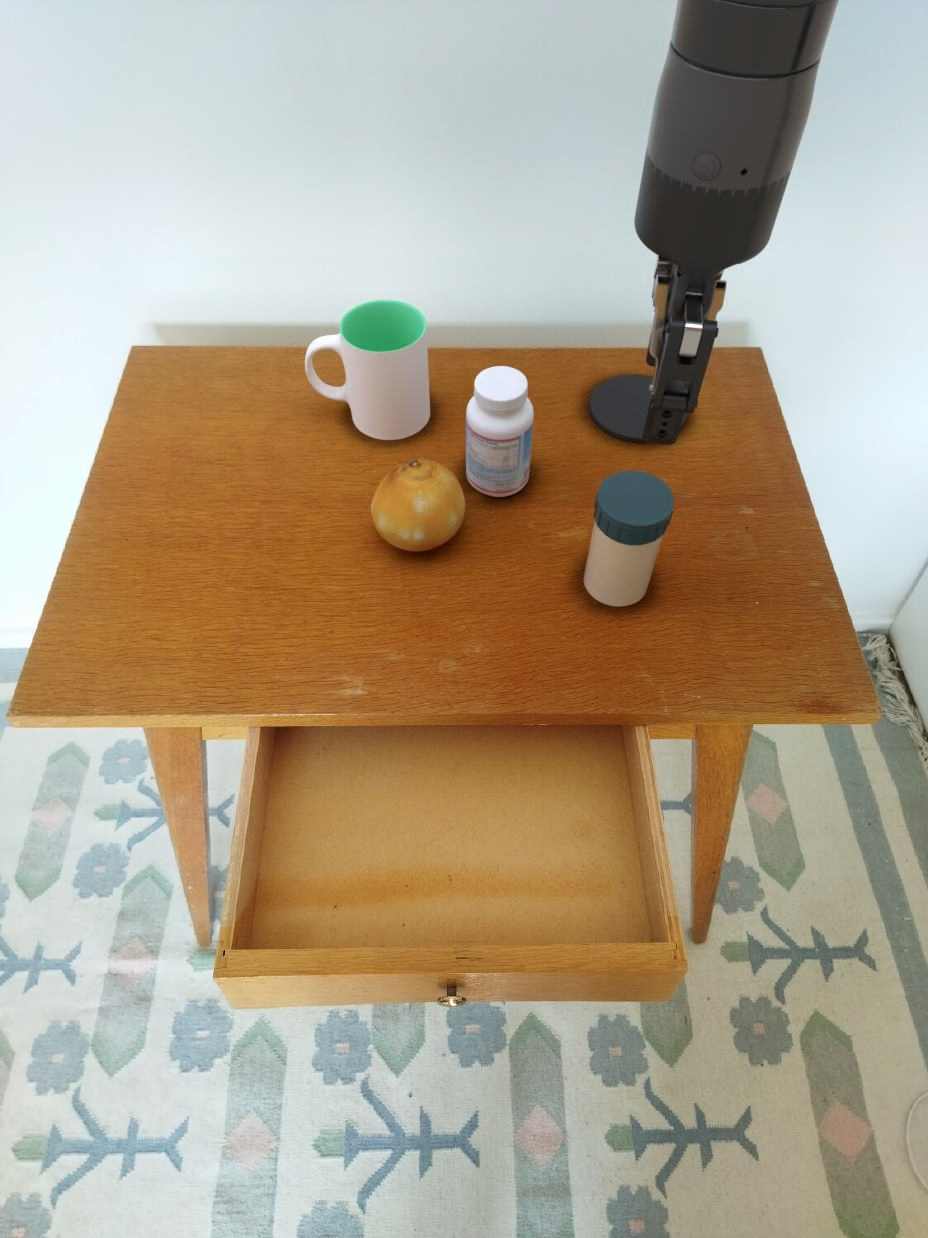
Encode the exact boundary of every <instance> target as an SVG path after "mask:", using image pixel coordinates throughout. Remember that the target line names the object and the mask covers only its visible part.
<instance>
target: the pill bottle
mask: <svg viewBox="0 0 928 1238" xmlns="http://www.w3.org/2000/svg"><path fill="white" fill-rule="evenodd" d="M473 386H474V388H473V396H472V397H471V398H470V400H469V402H468V403H467V406H466V411H465V412H466V413H465V475H466V479H467V481H468V483H469V484H470V485H471V487H473V489H474V490H476V491H478V492H480V493H481V494H483V495H486V496H489V497H492V498H493V497H494V498H503V497H508V496H513V495H514V494H516V493H518V492H519V491H521V490H522V489H523V488H524V487H525V486H526V485H527V484H528V481H529V478H530V472H531V471H530V470H531V457H532V446H533V433H534V420H535V419H534V418H535V417H534V416H535V415H534V412H535V411H534V406H533V404H532V402H531V400H530V398H529V397H528V394H529V393H528V392H529V391H528V389H529V383H528V379H527V377H526V375H525V374H524V373H523V372H522V371H520V370H519V369H516V368H514V367H511V366H507V365H496V366H491V367H487V368H485V369H483V370H481V371H480V372H479V373H478V374H477V376H476V377H475V379H474V383H473Z"/></svg>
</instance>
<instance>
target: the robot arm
mask: <svg viewBox="0 0 928 1238" xmlns="http://www.w3.org/2000/svg"><path fill="white" fill-rule="evenodd" d="M839 1H840V0H677V2H676V6H675V12H674V19H673V25H672V29H671V34H670V35H671V38H670V41H669V46H668V48H667V49H668V50H667V55H666V58H665V61H664V65H663V68H662V71H661V74H660V77H659V80H658V81H659V82H658V84H657V87H656V93H655V98H654V103H653V107H652V113H651V120H650V125H649V130H648V131H649V132H648V137H647V143H646V149H645V155H644V160H643V167H642V173H641V178H640V183H639V189H638V195H637V202H636V207H635V213H634V217H633V218H634V219H633V220H634V221H633V223H634V224H633V225H634V229H635V233H636V235H637V237H638V239H639V240H640V241H641V243H642V245H644V246H645V247H646V248H647V249H648V250H649V251H651V252H652V253H653V254H655V255H656V257H655V265H654V273H653V283H652V290H651V298H652V307H653V309H654V310H653V312H654V315H653V321H652V327H651V332H650V336H649V341H648V346H647V351H646V358H645V363H646V364H647V366H649V367H653V373H652V377H653V379H652V384H650V385H649V392H650V399H649V404H648V408H647V412H646V417H645V421H644V425H643V431H642V439H643V440H644V441H645V442H647V443H646V444H655V445H665V446H671V445H674V444H675V443H676V442H677V440H678V437H679V433H680V430H681V429H680V427H681V423H682V419H683V416H684V412H685V413H687V414H694V412H695V409H697V408H698V404H699V395H700V392H701V389H702V385H703V382H704V378H705V375H706V371H707V368H708V365H709V362H710V357H711V355H712V351H713V347H714V344H715V340H716V339H717V338H718V335H719V329H720V328H719V327H718V320H717V315H718V313H719V312H721V310H722V309H723V306H724V302H725V296H726V293H727V292H726V291H727V280H724V279H722V277H723V275H724V271H725V270H726V269H729V268H731V267H733V266H736V265H741V264H743V263H744V264H745V263H746V262H748V261H750V260H752V259H754V258H756V257H757V256H758V255H759V254H760V253H761V252H763V250H765V248H766V247H767V246H768V244H769V242H770V240H771V237H772V233H773V230H774V227H775V225H776V220H777V218H778V214H779V212H780V209H781V205H782V201H783V199H784V195H785V192H786V189H787V185H788V182H789V180H790V176H791V174H792V170H793V167H794V164H795V161H796V157H797V154H798V152H799V149H800V148H799V147H800V145H801V143H802V142H801V141H802V138H803V136H804V132H805V129H806V125H807V122H808V119H809V116H810V113H811V108H812V104H813V103H812V102H813V98H814V92H815V88H816V80H817V77H818V72H819V67H820V63H821V59H822V55H823V52H824V49H825V47H826V43H827V40H828V37H829V33H830V30H831V28H832V23H833V21H834V18H835V15H836V11H837V8H838V4H839Z"/></svg>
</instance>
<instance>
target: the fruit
mask: <svg viewBox="0 0 928 1238" xmlns="http://www.w3.org/2000/svg"><path fill="white" fill-rule="evenodd" d="M465 513H466V499H465V494H464V491H463V488H462V487H461V484H460V482H459V480H458V479H457V477H456V475H455V474H454V473H453V472H452V471H451V470H450V469H448V468H447V467H446V466H445V465H443V464H441V463H439V462H437V461H435V460H432V459H428V458H423V457H412V458H409V459H406V460H404V461H403V462H401V463H399V464H397V465H396V466H395V467H393V468H392V469H391V470H390V471H388V473H387V474H385V476H384V477H383V478H382V479H381V481H380V483H379V484H378V486H377V488H376V490H375V492H374V494H373V497H372V501H371V506H370V515H371V520H372V524H373V525H374V528H375V529H376V531H377V532H378V534H379V535H380V537H381V538H382V539H384V541H386V542H387V543H388V544H390V545H392V546H393V547H395V548H398V549H401V550H403V551H407V552H425V551H430V550H433V549H435V548H439V547H440V546H442V545H444V544H445V543H447V542H448V541H450V540H451V539H452V538H453V537H455V535H456V534H457V533H458V532H459V530H460V528H461V525H462V524H463V522H464V518H465Z"/></svg>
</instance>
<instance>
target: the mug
mask: <svg viewBox="0 0 928 1238" xmlns="http://www.w3.org/2000/svg"><path fill="white" fill-rule="evenodd" d="M427 332H428V331H427V320H426V317H425V316H424V314H423V313H422V312H421V311H420V310H419V309H418V308H417V307H416V306H413V305H412V304H409V303H408V302H403V301H400V300H393V299H378V300H371V301H367V302H366V301H365V302H363V303H361V304H358V305H356V306H355V307H353V308H351V309H350V310H348V311H347V312H346V313H345V314H344V315H343V316H342V318H341V320H340V322H339V333H336V334H328V335H323V336H322V335H321V336H319V337H317V338H315V339H314V340H312V341H311V343H310V344H309V345H308V347H307V349H306V352H305V357H304V371H305V374H306V377H307V380H308V382H309V384H310V386H311V387H312V388H313V389H314V391H316V393H317V394H320V395H321V396H323V397H325V398H327V399H329V400H333V401H342V402H346V403H347V404H348V406H349V409H350V412H351V420H352V422H353V424H354V426H355V427H356V429H357V430H358V431H359V432H360V433H362V434H364V435H366V436H368V437H370V438H373V439H375V440H381V441H396V440H402V439H407V438H409V437H411V436H413V435H415V434H417V433H419V432H420V431H422V429H424V427H426V425H427V424H428V422H429V420H430V418H431V398H430V377H429V376H430V375H429V353H428V333H427ZM323 350H332V351H333V352H335V353H337V355H339V357H340V359H341V361H342V364H343V368H344V373H345V374H344V375H345V382H344V384H343V385H341V386H333V385H329V384H327V383H326V382H324V381H323V380H321V378H320V377H319V376H318V375H317V372H316V371H315V369H314V365H313V357H314V355H315V354H316V353H318V352H319V351H323Z"/></svg>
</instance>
